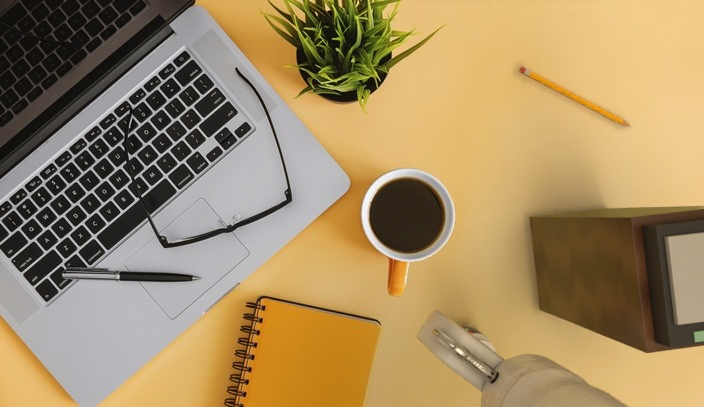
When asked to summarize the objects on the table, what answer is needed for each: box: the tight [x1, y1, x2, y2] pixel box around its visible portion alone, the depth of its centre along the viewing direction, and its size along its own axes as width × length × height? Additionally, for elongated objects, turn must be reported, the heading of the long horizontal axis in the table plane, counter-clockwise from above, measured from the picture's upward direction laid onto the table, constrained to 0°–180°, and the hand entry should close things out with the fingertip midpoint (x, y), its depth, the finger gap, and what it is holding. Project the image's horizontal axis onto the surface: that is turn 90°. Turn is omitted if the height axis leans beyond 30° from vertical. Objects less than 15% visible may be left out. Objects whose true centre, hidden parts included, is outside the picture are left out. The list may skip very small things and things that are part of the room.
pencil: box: [519, 66, 632, 127], centre depth 83 cm, size 1×19×1 cm, turn 64°
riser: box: [529, 205, 704, 354], centre depth 70 cm, size 14×12×26 cm
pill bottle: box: [459, 324, 497, 353], centre depth 77 cm, size 5×5×8 cm
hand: (484, 365), depth 62 cm, fingers open, 8 cm apart
